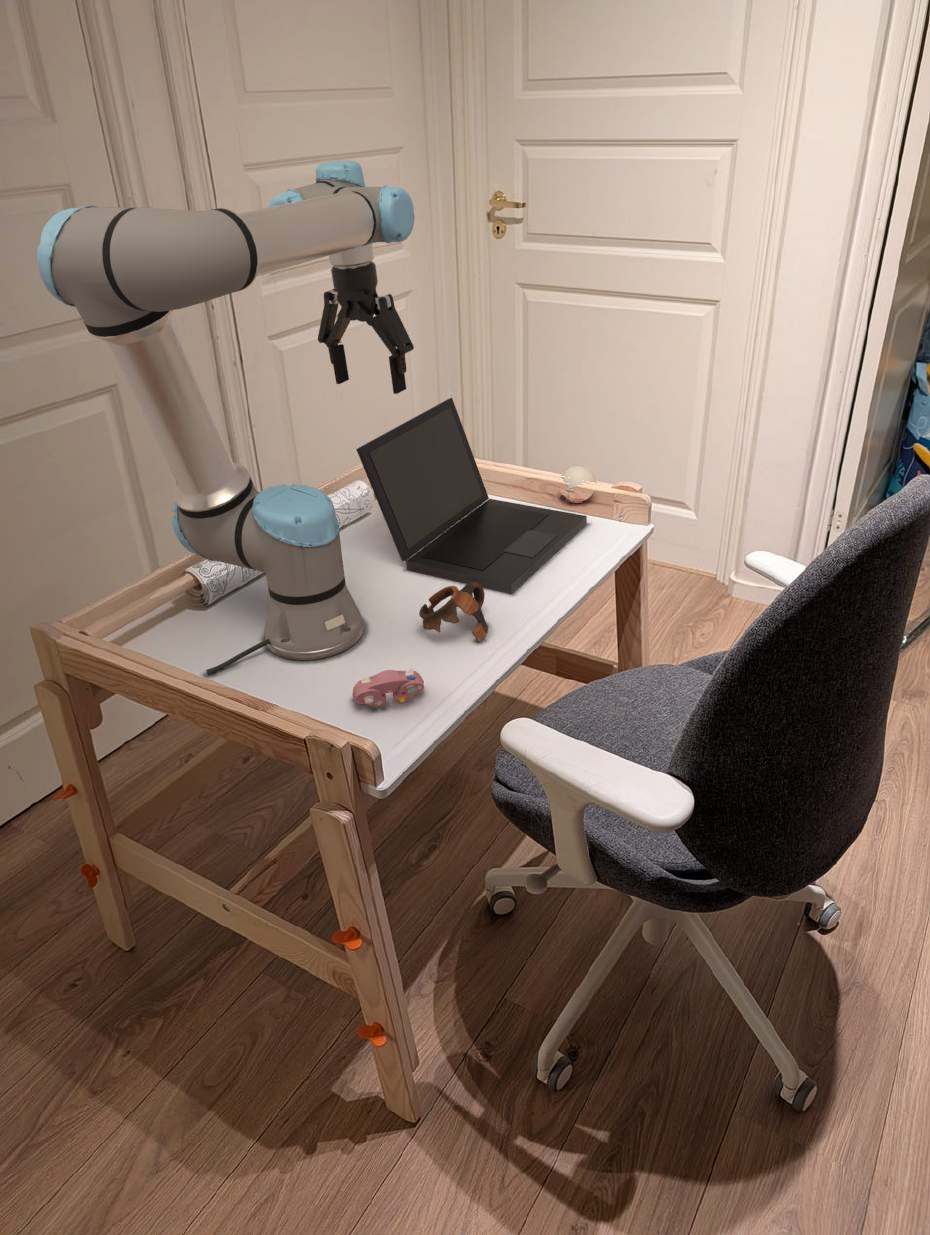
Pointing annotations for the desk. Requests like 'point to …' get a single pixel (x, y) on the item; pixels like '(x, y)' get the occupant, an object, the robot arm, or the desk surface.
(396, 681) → the video game controller
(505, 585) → the laptop
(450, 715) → the desk surface
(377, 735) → the desk surface
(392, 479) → the laptop screen
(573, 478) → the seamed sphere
